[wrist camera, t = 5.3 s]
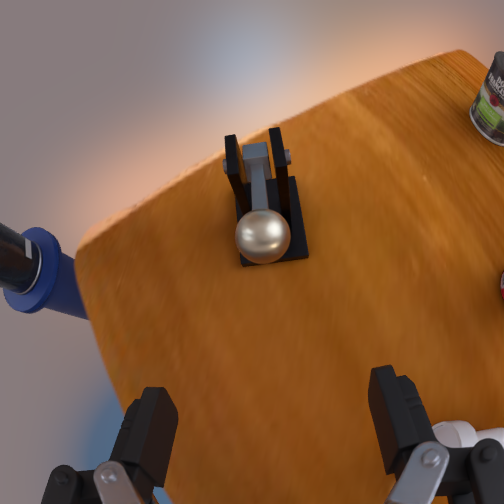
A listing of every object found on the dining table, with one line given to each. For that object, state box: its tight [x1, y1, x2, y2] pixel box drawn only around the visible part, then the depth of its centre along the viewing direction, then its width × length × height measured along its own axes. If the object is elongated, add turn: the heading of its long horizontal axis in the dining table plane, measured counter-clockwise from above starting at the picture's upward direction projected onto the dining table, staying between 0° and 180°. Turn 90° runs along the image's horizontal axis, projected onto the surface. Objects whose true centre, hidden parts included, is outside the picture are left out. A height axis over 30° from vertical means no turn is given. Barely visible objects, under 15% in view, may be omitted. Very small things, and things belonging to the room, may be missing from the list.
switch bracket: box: [223, 127, 309, 267], centre depth 33 cm, size 11×8×15 cm
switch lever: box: [235, 142, 291, 264], centre depth 24 cm, size 13×4×4 cm, turn 5°
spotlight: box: [432, 420, 504, 448], centre depth 23 cm, size 8×11×8 cm
